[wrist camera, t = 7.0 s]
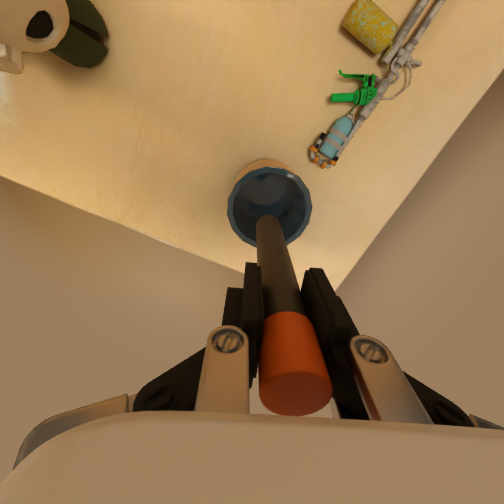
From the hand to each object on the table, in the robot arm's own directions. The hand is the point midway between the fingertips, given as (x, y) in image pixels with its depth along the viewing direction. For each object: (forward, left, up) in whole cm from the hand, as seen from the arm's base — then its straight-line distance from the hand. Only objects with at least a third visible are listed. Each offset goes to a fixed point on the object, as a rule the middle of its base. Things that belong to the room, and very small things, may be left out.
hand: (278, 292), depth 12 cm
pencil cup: (0, 0, -24) cm, 24 cm away
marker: (0, 0, -9) cm, 9 cm away
